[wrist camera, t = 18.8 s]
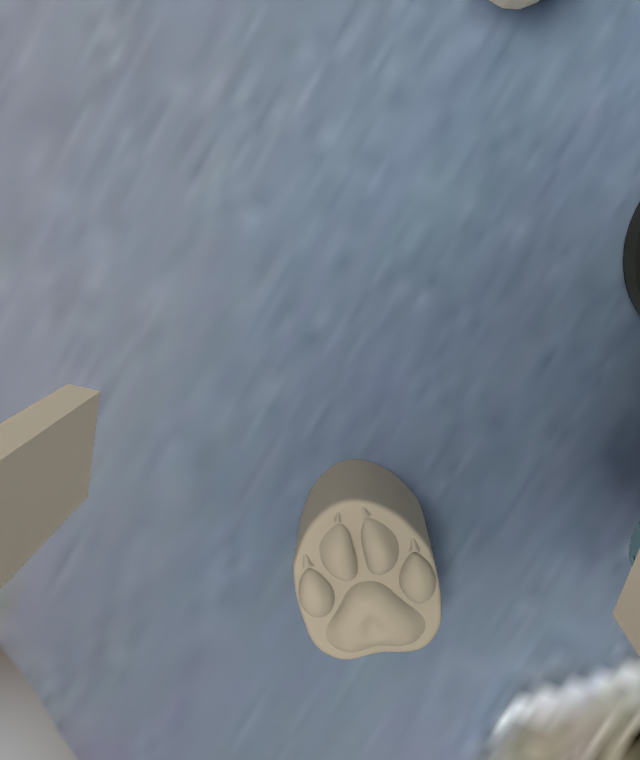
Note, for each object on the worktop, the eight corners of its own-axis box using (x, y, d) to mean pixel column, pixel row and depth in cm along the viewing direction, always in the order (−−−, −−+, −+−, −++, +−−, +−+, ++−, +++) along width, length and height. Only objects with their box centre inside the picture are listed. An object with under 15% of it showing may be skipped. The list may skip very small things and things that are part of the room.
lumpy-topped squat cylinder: (317, 605, 51) (311, 680, 43) (285, 470, 48) (272, 522, 40) (437, 588, 50) (453, 662, 42) (412, 448, 47) (425, 498, 39)
